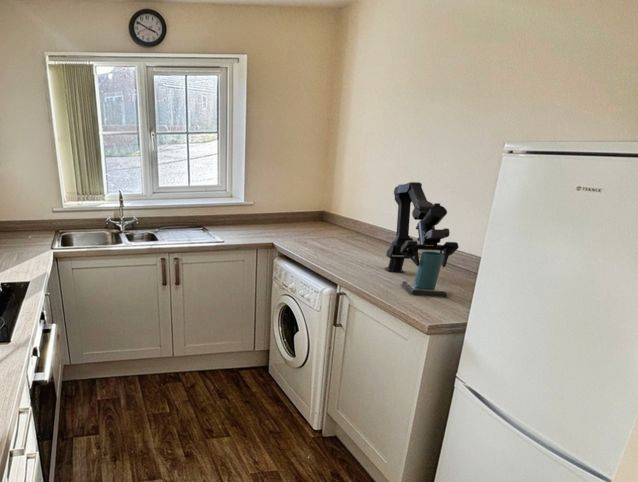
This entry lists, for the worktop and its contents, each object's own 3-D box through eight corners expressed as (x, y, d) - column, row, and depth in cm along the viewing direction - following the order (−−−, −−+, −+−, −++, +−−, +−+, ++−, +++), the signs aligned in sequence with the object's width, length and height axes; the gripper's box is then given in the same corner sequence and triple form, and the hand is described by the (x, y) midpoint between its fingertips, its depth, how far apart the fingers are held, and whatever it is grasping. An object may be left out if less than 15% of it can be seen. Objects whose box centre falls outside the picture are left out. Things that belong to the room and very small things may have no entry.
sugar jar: (409, 283, 183) (417, 251, 178) (425, 282, 184) (434, 251, 179) (423, 288, 176) (432, 256, 171) (439, 287, 177) (448, 255, 172)
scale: (401, 284, 189) (402, 280, 188) (434, 286, 186) (435, 283, 185) (411, 294, 177) (412, 290, 176) (446, 297, 174) (447, 293, 173)
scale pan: (405, 282, 186) (406, 281, 186) (435, 284, 184) (436, 283, 183) (413, 290, 177) (413, 288, 176) (445, 292, 174) (445, 291, 174)
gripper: (410, 219, 176) (414, 254, 170) (463, 221, 173) (469, 256, 167) (398, 236, 186) (401, 269, 181) (448, 237, 183) (453, 271, 177)
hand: (431, 266), depth 176 cm, fingers open, 9 cm apart
